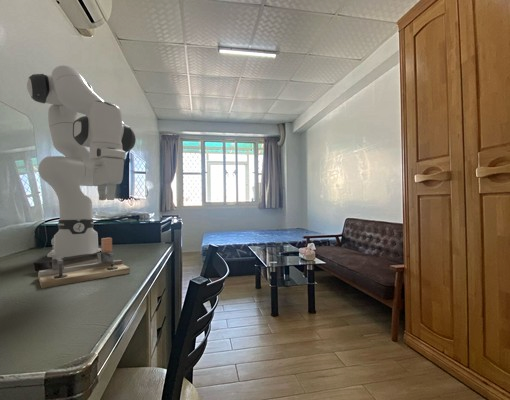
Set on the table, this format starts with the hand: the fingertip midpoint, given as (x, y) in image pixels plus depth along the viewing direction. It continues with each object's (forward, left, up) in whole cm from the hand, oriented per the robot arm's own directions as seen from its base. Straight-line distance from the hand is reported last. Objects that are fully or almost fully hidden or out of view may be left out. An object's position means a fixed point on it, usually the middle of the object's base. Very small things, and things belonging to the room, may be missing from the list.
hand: (106, 200), depth 82 cm
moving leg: (+3, 0, -19) cm, 19 cm away
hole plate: (+3, -6, -21) cm, 22 cm away
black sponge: (-13, -8, -22) cm, 27 cm away
